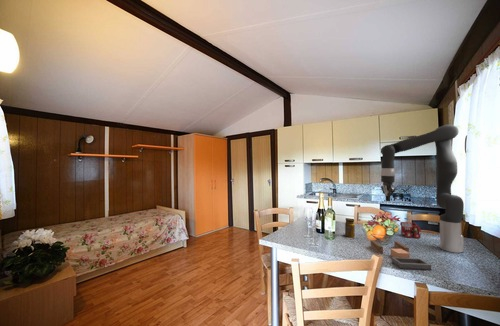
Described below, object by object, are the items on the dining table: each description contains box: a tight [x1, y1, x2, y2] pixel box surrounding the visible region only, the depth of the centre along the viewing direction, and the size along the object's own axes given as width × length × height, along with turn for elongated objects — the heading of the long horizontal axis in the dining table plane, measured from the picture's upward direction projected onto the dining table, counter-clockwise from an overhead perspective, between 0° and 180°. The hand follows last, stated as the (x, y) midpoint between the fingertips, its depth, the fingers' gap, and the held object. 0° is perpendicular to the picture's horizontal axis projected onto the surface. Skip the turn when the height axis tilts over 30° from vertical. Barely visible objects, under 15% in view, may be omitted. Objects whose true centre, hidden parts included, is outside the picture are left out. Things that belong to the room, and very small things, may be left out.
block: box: [390, 248, 411, 258], centre depth 111 cm, size 6×6×4 cm
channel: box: [369, 239, 410, 255], centre depth 121 cm, size 16×10×4 cm, turn 85°
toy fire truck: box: [399, 221, 422, 240], centre depth 145 cm, size 7×12×10 cm, turn 77°
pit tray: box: [391, 256, 432, 271], centre depth 102 cm, size 14×7×2 cm, turn 85°
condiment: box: [341, 218, 357, 240], centre depth 145 cm, size 7×8×12 cm
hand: (387, 201), depth 135 cm, fingers closed
